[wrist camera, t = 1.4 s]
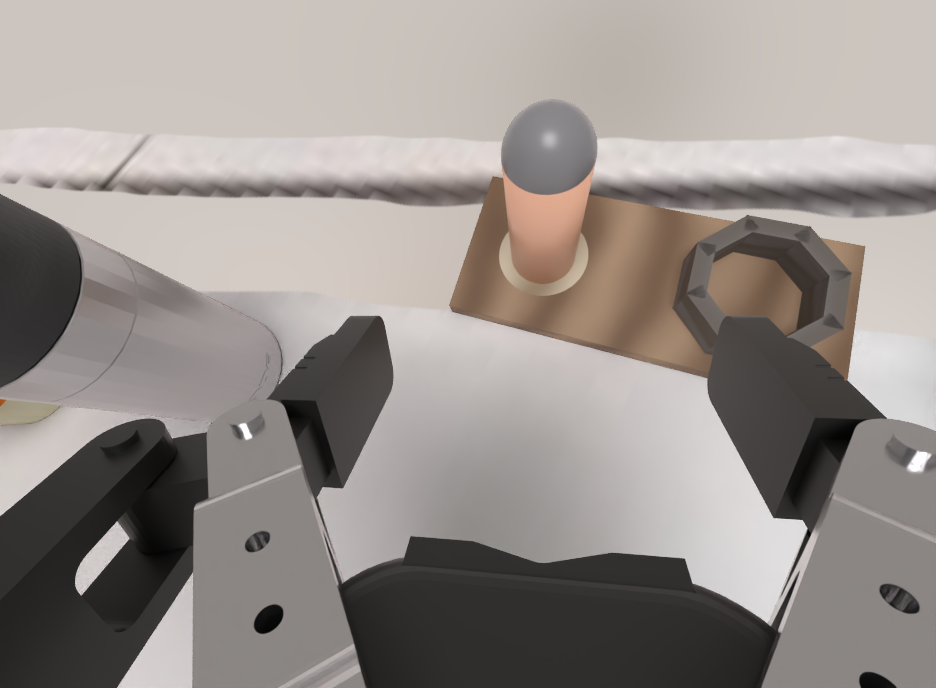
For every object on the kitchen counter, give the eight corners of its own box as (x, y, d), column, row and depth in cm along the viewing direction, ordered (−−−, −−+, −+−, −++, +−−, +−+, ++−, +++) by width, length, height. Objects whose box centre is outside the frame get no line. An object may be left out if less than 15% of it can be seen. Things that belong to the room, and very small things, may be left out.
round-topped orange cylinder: (503, 275, 35) (484, 153, 21) (521, 220, 36) (514, 69, 22) (566, 290, 34) (589, 172, 20) (582, 233, 35) (615, 82, 21)
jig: (452, 311, 36) (441, 291, 32) (494, 186, 39) (489, 152, 34) (829, 409, 30) (878, 401, 26) (850, 255, 33) (898, 224, 28)
